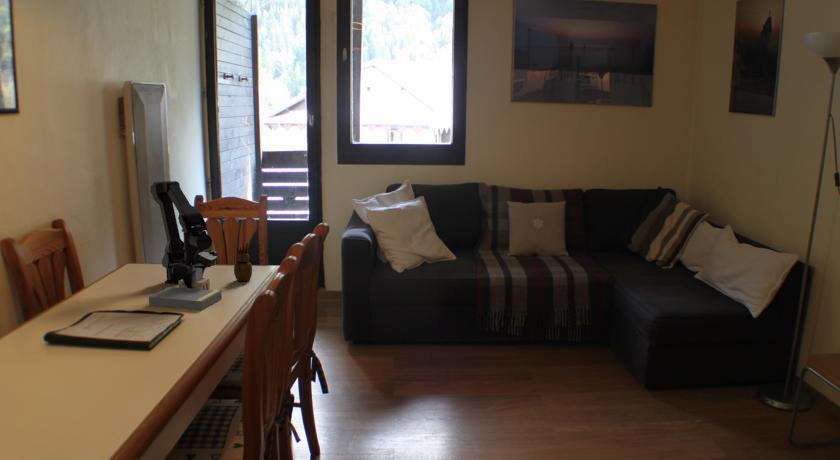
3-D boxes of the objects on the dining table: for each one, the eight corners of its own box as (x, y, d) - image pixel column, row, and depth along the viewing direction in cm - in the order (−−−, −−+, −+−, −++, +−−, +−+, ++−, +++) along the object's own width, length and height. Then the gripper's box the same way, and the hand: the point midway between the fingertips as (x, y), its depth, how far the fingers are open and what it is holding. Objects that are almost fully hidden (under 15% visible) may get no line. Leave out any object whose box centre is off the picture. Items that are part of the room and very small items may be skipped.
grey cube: (185, 280, 249) (184, 270, 248) (191, 277, 253) (191, 267, 252) (196, 281, 248) (195, 271, 247) (202, 278, 252) (202, 268, 251)
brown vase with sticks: (254, 279, 268) (253, 241, 265) (249, 282, 262) (248, 244, 259) (237, 278, 268) (236, 241, 266) (232, 282, 263) (230, 244, 260)
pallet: (179, 291, 249) (178, 281, 249) (187, 287, 255) (187, 276, 254) (201, 293, 247) (200, 282, 247) (209, 289, 253) (209, 278, 252)
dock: (149, 305, 233) (148, 296, 232) (170, 294, 245) (170, 286, 245) (202, 310, 228) (201, 300, 228) (221, 299, 241) (221, 290, 240)
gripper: (198, 252, 237) (200, 295, 240) (225, 241, 255) (226, 281, 258) (170, 250, 240) (172, 293, 243) (198, 239, 258) (200, 279, 261)
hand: (194, 286), depth 251 cm, fingers closed on pallet, 6 cm apart
